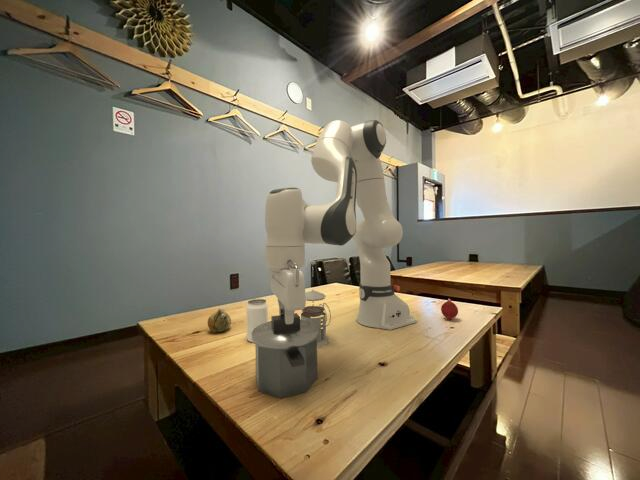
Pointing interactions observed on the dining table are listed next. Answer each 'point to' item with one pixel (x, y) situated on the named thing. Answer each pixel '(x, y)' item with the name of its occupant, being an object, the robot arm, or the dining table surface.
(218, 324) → the onion
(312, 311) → the french press
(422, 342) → the dining table surface
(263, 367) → the pot
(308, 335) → the lid
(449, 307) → the onion
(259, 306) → the can
